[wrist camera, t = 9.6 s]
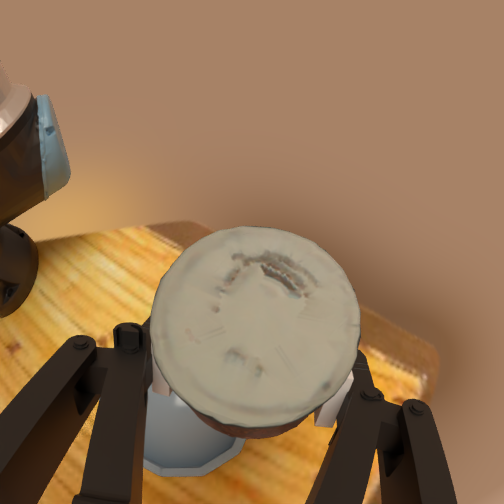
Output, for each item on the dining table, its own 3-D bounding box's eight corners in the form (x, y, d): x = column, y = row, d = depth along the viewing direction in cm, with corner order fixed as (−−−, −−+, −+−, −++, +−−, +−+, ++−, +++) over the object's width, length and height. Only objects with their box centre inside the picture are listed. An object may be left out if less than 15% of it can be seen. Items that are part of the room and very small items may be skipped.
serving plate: (104, 331, 37) (98, 327, 36) (244, 320, 39) (244, 315, 37) (113, 470, 29) (106, 473, 27) (264, 467, 30) (265, 470, 29)
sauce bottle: (269, 333, 25) (335, 141, 8) (304, 401, 23) (480, 357, 5) (193, 365, 24) (77, 230, 6) (226, 437, 21) (183, 528, 4)
